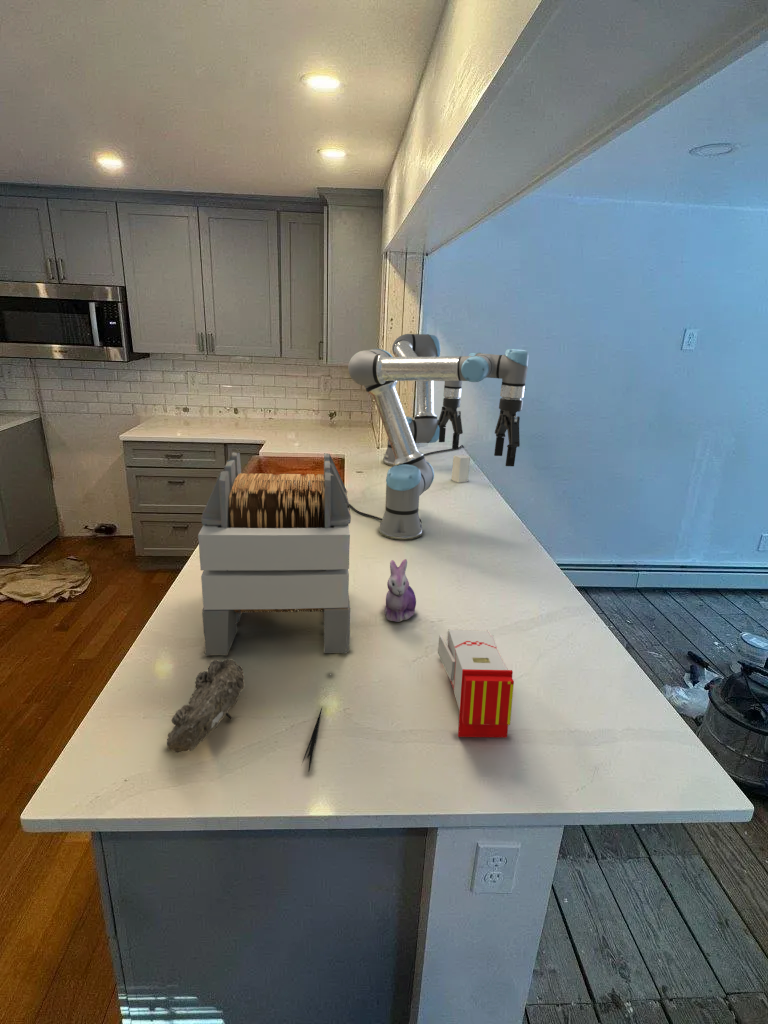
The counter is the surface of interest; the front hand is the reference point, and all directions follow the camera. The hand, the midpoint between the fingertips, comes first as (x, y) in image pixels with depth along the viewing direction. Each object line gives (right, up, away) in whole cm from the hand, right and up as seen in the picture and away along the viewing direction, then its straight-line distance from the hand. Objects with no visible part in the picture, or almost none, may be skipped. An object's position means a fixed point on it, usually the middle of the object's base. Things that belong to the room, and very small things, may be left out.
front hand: (503, 460), depth 194 cm
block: (-5, -3, +72) cm, 72 cm away
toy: (-23, -55, -75) cm, 96 cm away
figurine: (-37, -44, -46) cm, 74 cm away
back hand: (-12, +12, +61) cm, 63 cm away
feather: (-53, -57, -85) cm, 116 cm away
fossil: (-74, -57, -86) cm, 126 cm away
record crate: (-67, -44, -51) cm, 95 cm away
